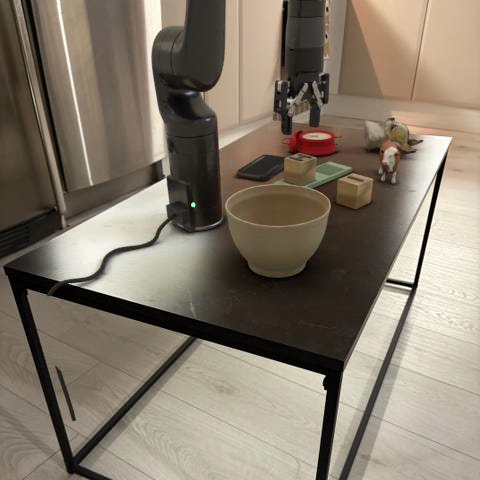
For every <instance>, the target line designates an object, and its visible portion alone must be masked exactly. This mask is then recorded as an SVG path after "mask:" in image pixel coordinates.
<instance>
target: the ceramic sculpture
mask: <svg viewBox="0 0 480 480" xmlns="http://www.w3.org/2000/svg"><path fill="white" fill-rule="evenodd" d="M363 137H364V140H365V144H366V148H367V150H368V151H372V150H374V149H380V148H381V145H382V144H383V143H384V142H386V141H387V140H390V141H392V142H393V143H394V144H395V145H396V147H397V149H398V151H399V153H400V156H403V155H405V156H406V155H410V154H415V153H417V150H416V149H414V148H412V147H414V146H416V145H419V144H422V143H424V139H416V138H413V137H411V136H410V129H409V127H408V126H407V125H406V124H405V123H403V122H396V118H395V117H388V118H386V119H384V120H383V121H382V122H381V123H376V122H374V121H371V120H368V119H365V120H364V122H363Z"/></svg>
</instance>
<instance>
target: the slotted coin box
mask: <svg viewBox="0 0 480 480" xmlns="http://www.w3.org/2000/svg"><path fill="white" fill-rule="evenodd" d="M373 184H374V178H371V177H367V176H365V175H360V174H357V173H355V172H354V173H353V172H352V173H349V174H347V175H344V177H343V176H342V177H339V178H337V186H336V198H335V204H339V205H342V206H345V207H347V208H350V209H353V210H357V209H360V208H362V207H364V206H366V205H368V204H370V203H371V200H372V193H373Z"/></svg>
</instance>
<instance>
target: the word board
mask: <svg viewBox="0 0 480 480" xmlns="http://www.w3.org/2000/svg"><path fill="white" fill-rule="evenodd" d="M353 170H354V169H353V167H351V166H347V165H343V164H340V163H338V162H337V163H336V162H334V161H333V162H332V161H327V162H324V163H322V164H320V165H316V177H315V180H314V181H311V182H308V183H306V184H303V185H301V186H302V187H307V188H311V189H314V188H316V187H319V186H322V185H324V184H326V183H329V182H331V181H334V180H336V179H340V178H342V177H343V176H347V175H349V174H352V173H353ZM271 184H289V185H297V184H294V183H291V182H288V181H285V180H284V178H282V179H279V180H276V181H274V182H272V183H271ZM297 186H300V185H297Z"/></svg>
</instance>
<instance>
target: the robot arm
mask: <svg viewBox="0 0 480 480" xmlns="http://www.w3.org/2000/svg"><path fill="white" fill-rule="evenodd" d="M326 9H327V0H287V19H286V26H285V27H286V28H285V43H284V44H285V46H284V47H285V48H284V49H285V51H284V70H285V71H286V73H287V76H286V79H285V80H279V79H276V80H275V81H274V82H275V83H274V92H273V108H272V109H273V113H274V114H278V115H280V130H281V131H280V132H281V134H282V135H284V136H291V135H292V134H293V118H294V116H293V113H294V111H295V110H296V108H297V107H298V106H299V105H300V102H304V101H306V100H307V101H308V103H309V106H310V108H309V117H308V118H309V119H308V126H309V127H310V128H319V126H320V122H321V110H322V109H323V107H324V105H328V104H329V100H330V78H331V77H330V73H327V72H322V70H323V68H324V59H325V57H324V55H325V44H326V43H325V42H326ZM226 19H227V0H185V15H184V23H183V25H178V24H177V25H167V26H164V27H163V28H162V29H160V30H159V31H158V32H157V34H156V36H155V37H154V39H153V42H152V46H151V52H150V53H151V54H150V55H151V56H150V58H151V62H150V63H151V72H152V78H153V85H154V90H155V97H156V103H157V109H158V112H159V115H160V117H161V119H162V120H163V124H164V129H165V137H166V146H167V154H168V164H169V173H170V174H168V175H166V186H167V196H168V201H169V202H168V204H166V205H165V210H166V217H167V218H166V219H165V220H164V221H163V222H162V223H161V224H160V225H159V226H158V228H157V229H156V232H155V235H154V237H153V238H152V239H151V240H149V241H147V242H145V243H141V244H136V245H127V246H119V247H117V248H113V249H112V250H110V251H108V252H107V253H106V254H105V255H104V257H103V259H102V260H101V264H100V267H99V268H98V270H96V271H95V272H94V273H92V274H91V275H88V276H83V277H75V278H68V279H64V280H61V281H58V282H57V283H55V284H53V286H52V287H51V288H50V289H49V290H48V292H47V293H46V296H47V297H51V296H53V295H54V293H55V292H56V291H57V290H58V289H59V288H61V287H63V286H65V285H66V286H67V285H69V283H70V284H78V283H86V282H90V281H93V280H95V279H97V278H98V277H99V276H100V275H102V273H103V272H104V270H105V268H106V265H107V263H108V261H109V259H110V258H111V257H112V256H114V255H115V254H118V253H120V252H125V251H133V250H134V251H135V250H139V249H145V248H148V247H150V246H152V245H153V244H156V242H157V241H158V240H159V238H160V236H161V233H162V230H163V229H164V228H165V227H166V226H167V225H168V224H170V222H171V225H174V226H176V227H178V228H180V229H182V230H184V231H186V232H188V233H193V232H199V231H207V230H212V229H214V228H217V227H219V226H220V225H221V224H222V223H223V221H224V214H223V199H222V198H223V197H222V182H221V181H222V180H221V179H222V178H221V162H220V160H221V159H220V143H219V142H220V140H219V124H218V123H219V121H218V115H217V113H216V112H215V110H214V109H213V108H212V107H210V106H209V105H208V103H207V102H206V101H205V99H204V96H203V95H202V93H208V92H209V91H211V90H212V89H213V88H215V87H216V85H217V84H218V82H219V80H220V78H221V77H222V73H223V69H224V65H225V59H226V58H225V57H226V30H227V29H226V28H227V27H226V25H227V23H226V21H227V20H226ZM322 93H323V94H322ZM54 368H55V371H56V374H57V375H56V376H57V378H58V381H59V384H60V386H61V390H62V393H63V395H64V398H65V402H66V405H67V408H68V412H69V415H70V419H71V421H72V422H76V421H77V417H76V414H75V410H74V406H73V404H72V400H71V397H70V394H69V390H68V388H67V385H66V382H65V379H64V376H63V375H64V374H63V372H62V370H61V369H60V368H59V367H58V366H57V365H56V364H54Z"/></svg>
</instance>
